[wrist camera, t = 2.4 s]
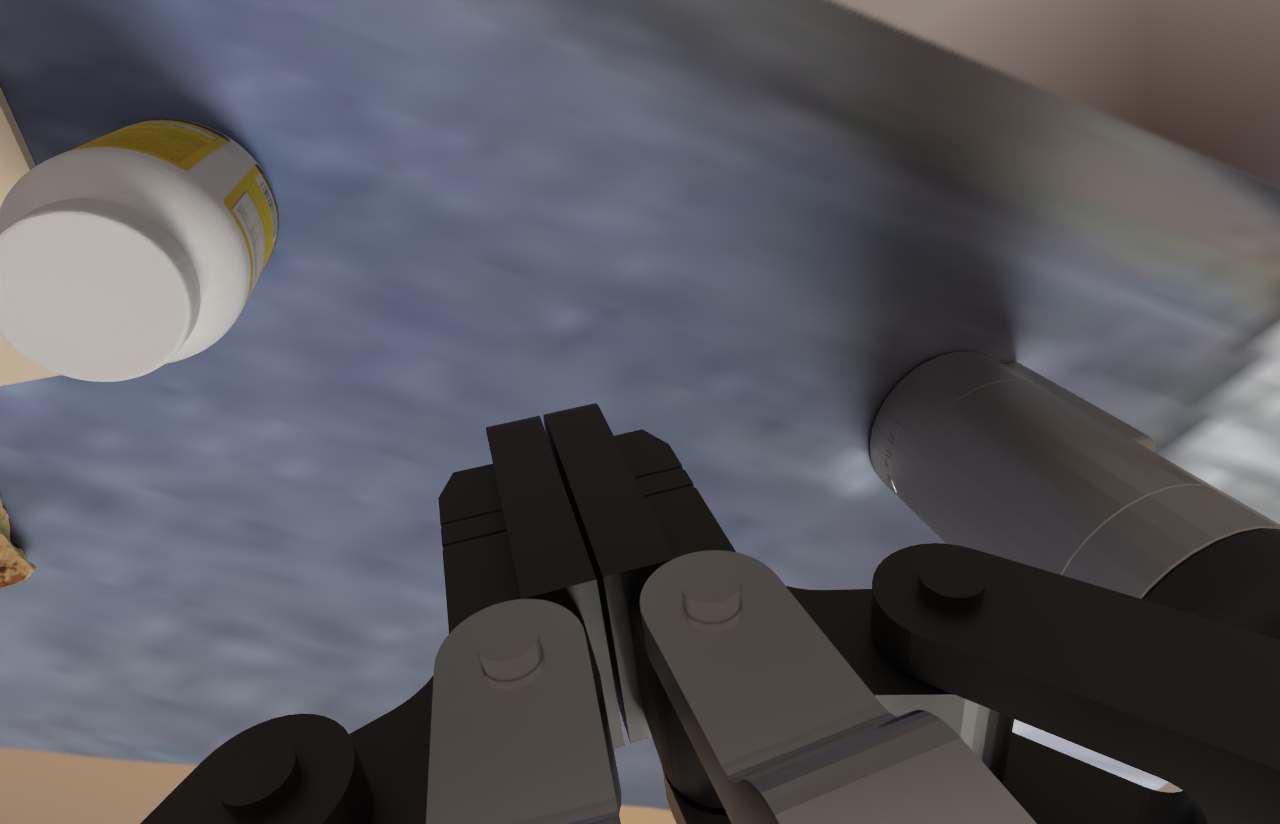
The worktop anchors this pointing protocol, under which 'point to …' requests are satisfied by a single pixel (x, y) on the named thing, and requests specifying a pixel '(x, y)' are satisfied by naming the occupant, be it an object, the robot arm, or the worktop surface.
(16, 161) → the mat
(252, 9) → the worktop surface
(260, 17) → the worktop surface
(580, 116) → the worktop surface
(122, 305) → the pill bottle
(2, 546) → the shard
